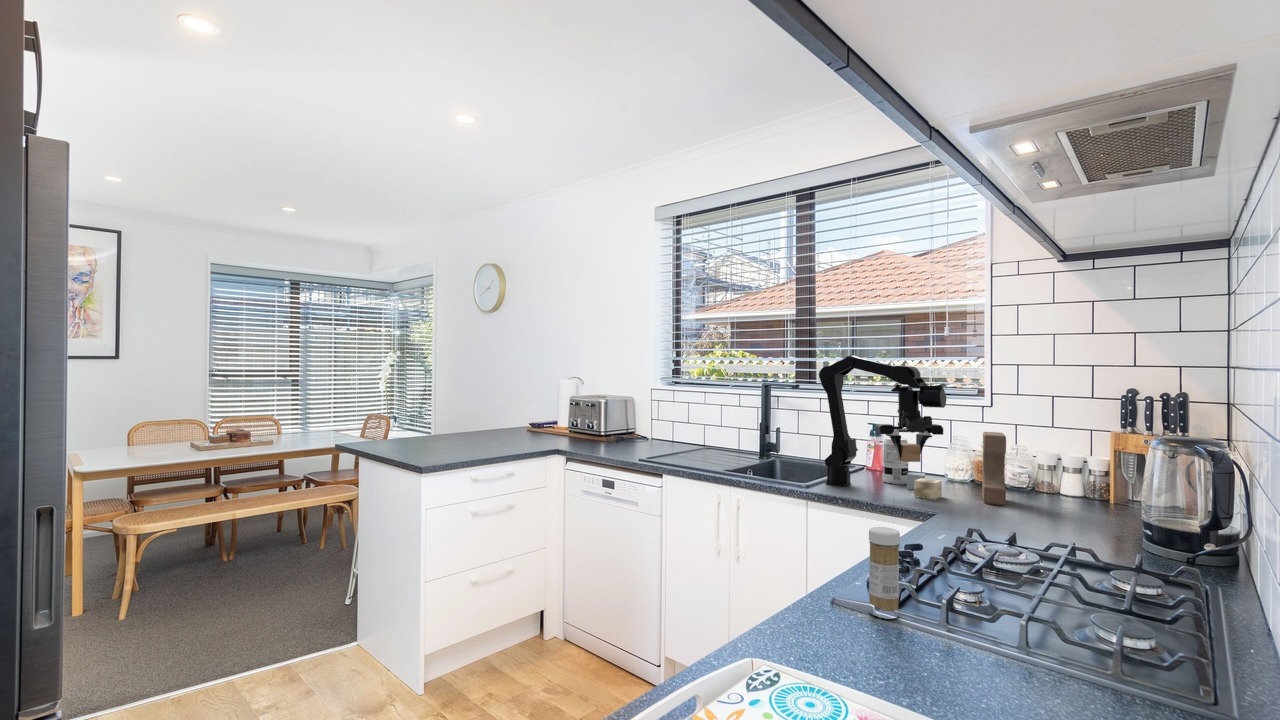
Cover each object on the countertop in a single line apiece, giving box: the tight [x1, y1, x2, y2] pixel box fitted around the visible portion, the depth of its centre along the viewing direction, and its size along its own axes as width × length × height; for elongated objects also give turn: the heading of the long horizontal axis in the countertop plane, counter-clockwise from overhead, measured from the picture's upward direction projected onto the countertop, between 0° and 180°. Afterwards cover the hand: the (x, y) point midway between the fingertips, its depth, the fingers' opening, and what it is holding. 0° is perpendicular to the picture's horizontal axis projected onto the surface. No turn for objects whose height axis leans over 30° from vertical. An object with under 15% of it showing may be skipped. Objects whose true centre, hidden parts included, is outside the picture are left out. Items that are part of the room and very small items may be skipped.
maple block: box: [913, 478, 943, 500], centre depth 188 cm, size 6×6×5 cm
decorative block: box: [981, 431, 1007, 506], centre depth 183 cm, size 11×6×20 cm, turn 152°
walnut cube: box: [898, 443, 922, 463], centre depth 191 cm, size 5×5×5 cm
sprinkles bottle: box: [868, 526, 901, 611], centre depth 97 cm, size 5×5×14 cm
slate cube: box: [906, 471, 926, 490], centre depth 200 cm, size 5×5×5 cm
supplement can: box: [881, 436, 909, 485], centre depth 211 cm, size 8×8×15 cm
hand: (909, 457), depth 191 cm, fingers closed on walnut cube, 5 cm apart
